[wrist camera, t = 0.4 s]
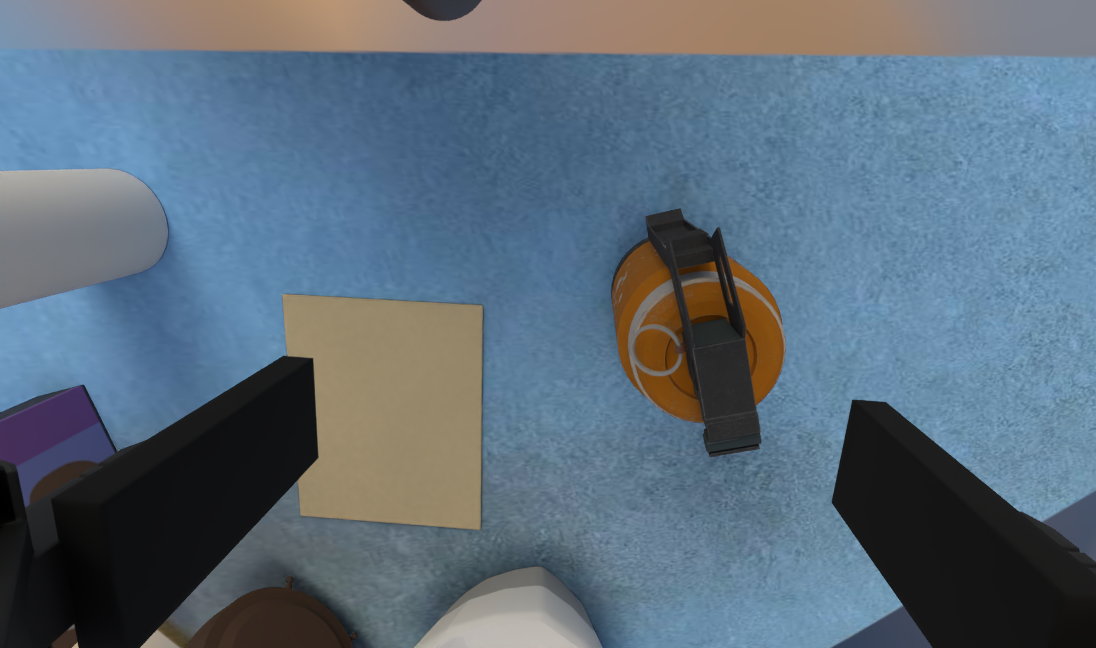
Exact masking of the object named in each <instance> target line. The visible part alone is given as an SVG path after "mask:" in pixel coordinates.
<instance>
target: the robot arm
mask: <svg viewBox="0 0 1096 648" xmlns="http://www.w3.org/2000/svg"><path fill="white" fill-rule="evenodd" d="M318 458H319V457H318V438H317V419H316V400H315V381H314V362H313V358H306V357H293V356H282V357H281V358H279V359H278V360H276V361H274V362H273V363H271V364H269V365H268V366H266V367H265V368H263V369H261V370H260V371H258V372H256V373H255V374H253V375H252V376H250V377H248V378H247V379H245V380H243V381H242V382H240V383H239V384H237V385H235V386H234V387H232V388H230V389H229V390H227V391H226V392H224V393H222V394H221V395H219V396H217V397H216V398H214V399H213V400H211V401H209V402H208V403H206V404H204V405H203V406H201V407H200V408H198V409H196V410H195V411H193V412H191V413H190V414H188V415H187V416H185V417H183V418H182V419H180V420H178V421H177V422H175V423H174V424H172V425H170V426H169V427H167V428H165V429H164V430H162V431H161V432H159V433H157V434H156V435H154V436H152V437H151V438H149V439H148V440H145V441H143V442H140V443H137V444H135V445H132V446H129V447H127V448H124V449H121V450H120V451H118V452H116V453H115V454H113V455H111V456H110V457H108V458H107V459H105V460H103V461H102V462H100V463H99V465H98V466H93V467H92V468H90V469H88V470H87V471H85V472H83V473H82V474H80V477H79V478H73V479H72V480H70V481H68V482H67V483H65V484H63V485H62V486H60V487H58V488H57V489H55V490H53V491H52V492H50V493H48V494H47V495H45V496H43V497H42V498H40V499H39V500H37V501H35V502H34V503H32V504H30V505H29V506H27V507H25V505H24V500H23V495H22V490H21V485H20V480H19V475H18V470H17V468H16V466H15V464H13V463H10V462H7V461H4V460H0V648H53V644H52V643H53V642H54V641H55V640H57V639H58V638H59V637H60V636H61V635H62V634H63V633H65V632H66V631H67V630H68V629H69V628H70V627H71V626H72V625H75V631H76V636H77V641H78V647H79V648H140V647H141V646H142V645H143V644H144V643H145V642H146V641H147V639H148V638H149V637H150V636H151V635H152V634H153V633H154V632H155V631H156V630H157V629H158V628H159V627H160V626H161V625H162V624H163V623H164V621H165V620H166V619H167V618H168V617H169V616H170V615H171V614H172V613H173V612H174V611H175V610H176V609H177V608H178V607H179V606H180V605H181V603H182V602H183V601H184V600H185V599H186V598H187V597H188V596H189V595H190V594H191V593H192V592H193V591H194V590H195V589H196V588H197V586H198V585H199V584H200V583H201V582H202V581H203V580H204V579H205V578H206V577H207V576H208V575H209V574H210V573H211V572H212V571H213V569H214V568H215V567H216V566H217V565H218V564H219V563H220V562H221V561H222V560H223V559H224V558H225V557H226V556H227V555H228V554H229V552H230V551H231V550H232V549H233V548H234V547H235V546H236V545H237V544H238V543H239V542H240V541H241V540H242V539H243V538H244V537H245V535H246V534H247V533H248V532H249V531H250V530H251V529H252V528H253V527H254V526H255V525H256V524H257V523H258V522H259V521H260V520H261V518H262V517H263V516H264V515H265V514H266V513H267V512H268V511H269V510H270V509H271V508H272V507H273V506H274V505H275V504H276V503H277V501H278V500H279V499H280V498H281V497H282V496H283V495H284V494H285V493H286V492H287V491H288V490H289V489H290V488H291V487H292V486H293V484H294V483H295V482H296V481H297V480H298V479H299V478H300V477H301V476H302V475H303V474H304V473H305V472H306V471H307V470H308V469H309V467H310V466H311V465H312V464H313V463H314V462H315V461H316V460H317V459H318ZM832 504H833V505H834V507H835V508H836V510H837V511H838V512H839V514H840V515H841V517H842V518H843V520H844V521H845V522H846V524H847V525H848V527H849V528H850V530H851V531H852V533H853V534H854V535H855V537H856V538H857V540H858V541H859V543H860V544H861V545H862V547H863V548H864V550H865V551H866V553H867V554H868V556H869V557H870V558H871V560H872V561H873V563H874V564H875V566H876V567H877V568H878V570H879V571H880V573H881V574H882V576H883V577H884V578H885V580H886V581H887V583H888V584H889V586H890V587H891V589H892V590H893V591H894V593H895V594H896V596H897V597H898V599H899V600H900V601H901V603H902V604H903V606H904V607H905V609H906V610H907V612H908V613H909V614H910V616H911V617H912V619H913V620H914V621H915V623H916V624H917V626H918V627H919V629H920V630H921V631H922V633H923V634H924V636H925V637H926V639H927V640H928V642H929V643H930V644H931V646H932V647H933V648H1096V562H1095V561H1094V560H1092V559H1091V558H1090V557H1089V556H1087V555H1086V554H1085V553H1080V551H1079V548H1077V547H1076V546H1075V545H1074V544H1072V543H1071V542H1070V541H1069V540H1067V539H1066V538H1065V537H1064V536H1062V535H1061V534H1060V533H1059V532H1057V531H1056V530H1055V529H1053V528H1051V527H1049V526H1047V525H1046V524H1044V523H1042V522H1040V521H1038V520H1036V519H1034V518H1033V517H1031V516H1029V515H1027V514H1025V513H1023V512H1019V511H1018V510H1016V509H1015V508H1014V507H1013V506H1012V505H1010V504H1009V503H1008V502H1007V501H1005V500H1004V499H1003V498H1002V497H1001V496H999V495H998V494H997V493H996V492H995V491H993V490H992V489H991V488H990V487H988V486H987V485H986V484H985V483H984V482H982V481H981V480H980V479H979V478H977V477H976V476H975V475H974V474H973V473H971V472H970V471H969V470H968V469H967V468H965V467H964V466H963V465H962V464H960V463H959V462H958V461H957V460H956V459H954V458H953V457H952V456H951V455H949V454H948V453H947V452H946V451H945V450H943V449H942V448H941V447H940V446H939V445H937V444H936V443H935V442H934V441H932V440H931V439H930V438H929V437H928V436H926V435H925V434H924V433H923V432H921V431H920V430H919V429H918V428H917V427H915V426H914V425H913V424H912V423H911V422H909V421H908V420H907V419H906V418H904V417H903V416H902V415H901V414H900V413H898V412H897V411H896V410H895V409H894V408H892V407H891V406H890V405H889V404H887V403H886V402H878V401H865V400H852V404H851V409H850V414H849V419H848V424H847V429H846V434H845V439H844V444H843V449H842V454H841V459H840V464H839V469H838V474H837V479H836V484H835V489H834V494H833V498H832Z"/></svg>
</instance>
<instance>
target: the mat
mask: <svg viewBox="0 0 1096 648" xmlns="http://www.w3.org/2000/svg"><path fill="white" fill-rule="evenodd" d="M282 299H283V311H284V323H285V335H286V347H287V356H293V357H306V358H313V362H314V381H315V400H316V419H317V438H318V457H319V458H318V459H317V460H316V461H315V462H314V463H313V464H312V465H311V466H310V467H309V469H308V470H307V471H306V472H305V473H304V474H303V475H302V476H301V477H300V478H299V479H298V488H299V500H300V512H301V516H311V517H323V518H336V519H349V520H361V521H374V522H387V523H400V524H412V525H425V526H438V527H450V528H463V529H476V530H480V529H481V471H482V367H483V305H472V304H454V303H436V302H418V301H401V300H383V299H365V298H347V297H329V296H312V295H294V294H283V295H282Z"/></svg>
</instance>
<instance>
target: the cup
mask: <svg viewBox="0 0 1096 648" xmlns="http://www.w3.org/2000/svg"><path fill="white" fill-rule="evenodd" d="M167 239H168V226H167V220H166V216H165V213H164V210H163V208H162V206H161V204H160V202H159V200H158V199H157V197H156V196H155V195H154V193H153V192H152V191H151V190H150V189H149V188H148V187H147V186H146V185H145V184H144V183H143V182H142V181H140V180H139V179H137V178H136V177H134V176H132V175H130V174H128V173H126V172H123V171H120V170H115V169H70V170H31V171H0V309H1V308H5V307H8V306H12V305H16V304H20V303H24V302H28V301H32V300H36V299H40V298H43V297H47V296H51V295H55V294H59V293H63V292H67V291H71V290H75V289H78V288H82V287H86V286H90V285H94V284H98V283H102V282H106V281H110V280H113V279H117V278H121V277H125V276H129V275H133V274H137V273H141V272H143V271H146V270H147V269H149V268H151V267H152V266H154V265H155V264H156V263H157V262H158V260H159V259H160V258H161V256H162V255H163V253H164V250H165V248H166V244H167Z"/></svg>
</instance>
